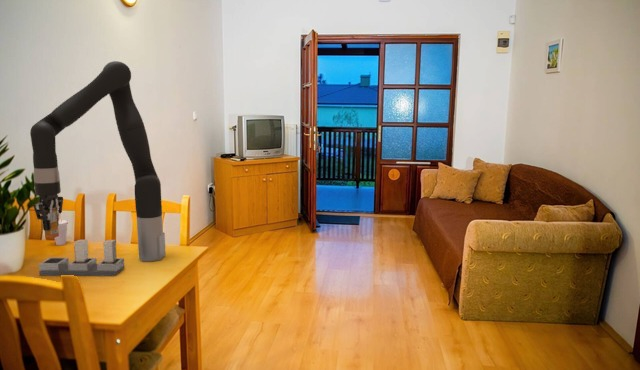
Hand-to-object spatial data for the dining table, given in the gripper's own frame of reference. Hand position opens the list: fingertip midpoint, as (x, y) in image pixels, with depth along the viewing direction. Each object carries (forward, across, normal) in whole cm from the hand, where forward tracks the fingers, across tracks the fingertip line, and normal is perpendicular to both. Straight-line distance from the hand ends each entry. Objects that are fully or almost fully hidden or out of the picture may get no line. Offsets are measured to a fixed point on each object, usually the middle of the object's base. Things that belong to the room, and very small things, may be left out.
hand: (51, 228), depth 152 cm
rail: (+16, 0, -10) cm, 19 cm away
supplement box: (+3, 0, 0) cm, 3 cm away
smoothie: (+16, +31, +15) cm, 38 cm away
